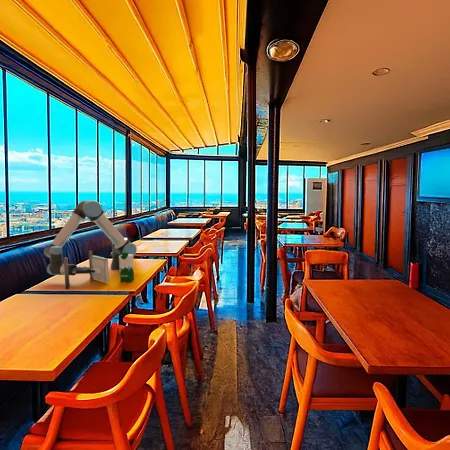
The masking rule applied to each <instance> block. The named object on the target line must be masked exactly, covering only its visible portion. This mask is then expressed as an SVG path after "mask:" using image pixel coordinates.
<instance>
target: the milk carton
mask: <svg viewBox="0 0 450 450" xmlns="http://www.w3.org/2000/svg"><path fill="white" fill-rule="evenodd" d="M133 255H134V254H128V252H123V253H122V255H120V256H119V266H120V270H119V280H120V281H119V282H120V283H131V282H132V281H134V280H135V271H134V270H135V267H134V256H135V255H134V256H133Z"/></svg>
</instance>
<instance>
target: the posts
mask: <svg viewBox="0 0 450 450" xmlns="http://www.w3.org/2000/svg"><path fill="white" fill-rule="evenodd" d="M91 256H93V250H88V264H89V266H88V267H91ZM63 264H64V272H65V275H64V283H65V284H64V287H65V290H69V289H70V275H69V268H68V264H69V257H63ZM89 280H93V279H92V273H91V274H89Z"/></svg>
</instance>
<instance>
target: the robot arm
mask: <svg viewBox="0 0 450 450" xmlns="http://www.w3.org/2000/svg"><path fill="white" fill-rule="evenodd" d="M86 218H87V219H88V220H89V221H90V222H92V223H95V224H96V226H98V228H99V229H100V230H101V232H103V233H104V234H105V236H106V237H108V239H109V240H110V241H111V251H112V255H111V256H112V260H111V263H110V269H111V270H115V271H117V270H118V271H120V266H119V256H120V255H122V253H123V252H128V254H134V255H133V257H135V255H136V254H137V249H138V248H137V246H136V245H135V244H134V243H133V242H131V241H130V240H129V239H128V237H124V236H123V235H122V234H121V232H120V231H119V230H118V229H117V228H116V227H115V225H113V223H112V222H111V221H110V220H109V218H108V217H107V216H106V215H105V211H104V209H103V207H102V205H101V204H100V202H99V201H96V200H94V199H90V200H89V199H85V200H81V201H80V202H79V203H78V204H77V206H76V207H75V208H74V209H73V211H72V212H71V216H70V218H68V220H67V221H66V223H65V224H64V225H63V227H62V228H61V230H60V231H59V232H58V234H57V235H56V236H55V237H54V239H53V240H52V242H50V244H49V246H47V247H45V248H44V250H43V253H44V256H46V257H47V258H49V260H50V263H49V264H48V265H47V268H46V272H47V273H48V274H49V275H53V276H65V272H64V257H63V246H65V244H66V242H67V241H68V240H69V239H70V237H71V236H72V235H73V233H74V232H75V231H76V230H77V228H78V227H79V225H80V223H82V221H85V219H86ZM68 268H69V276H74V277H75V276H76V275H79V274H80V275H83V274H84V275H85V274H86V275H87V274H88V275H90V274H91V273H101V269H94V268H93V267H92V268H91V267H90V266H78V265H77V264H72V263H71V264H70V263H68Z"/></svg>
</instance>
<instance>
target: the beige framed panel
mask: <svg viewBox="0 0 450 450" xmlns="http://www.w3.org/2000/svg"><path fill="white" fill-rule="evenodd" d="M92 267H93V268H94V269H101V273H92V279H91V280H97V281H99V282H102V283H105V284H107V283H109V282H110V276H109V275H110V273H109V259H108V258H107V257H102V256H99V255H93V256H91V268H92Z"/></svg>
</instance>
